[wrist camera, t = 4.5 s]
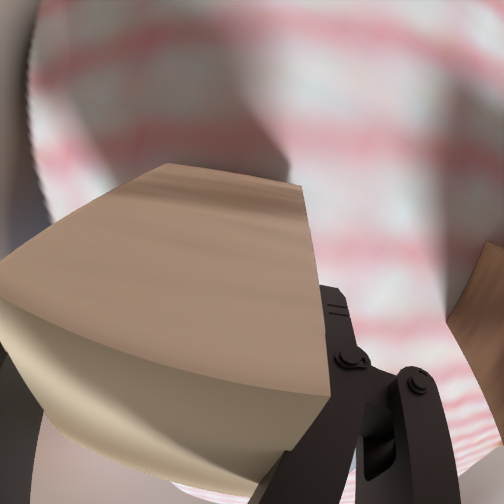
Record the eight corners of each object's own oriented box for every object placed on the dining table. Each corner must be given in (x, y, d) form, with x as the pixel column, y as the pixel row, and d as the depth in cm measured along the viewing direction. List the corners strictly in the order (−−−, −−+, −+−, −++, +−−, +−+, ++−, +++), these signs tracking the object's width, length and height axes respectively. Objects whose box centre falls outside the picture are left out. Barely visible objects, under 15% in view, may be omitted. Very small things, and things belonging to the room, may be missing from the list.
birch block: (166, 162, 12) (-25, 281, 3) (301, 185, 12) (330, 396, 3) (162, 275, 15) (62, 436, 6) (273, 299, 15) (250, 497, 6)
